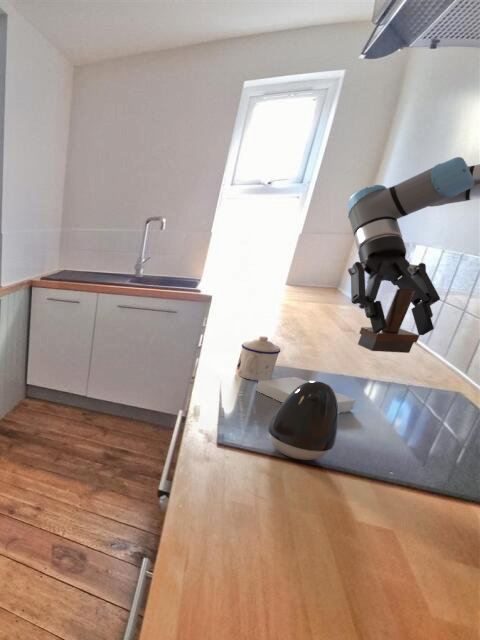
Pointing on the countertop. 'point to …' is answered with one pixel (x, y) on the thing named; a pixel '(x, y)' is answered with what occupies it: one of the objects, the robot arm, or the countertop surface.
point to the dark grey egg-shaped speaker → (306, 422)
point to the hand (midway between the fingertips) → (403, 330)
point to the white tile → (285, 386)
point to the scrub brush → (391, 328)
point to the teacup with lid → (257, 359)
